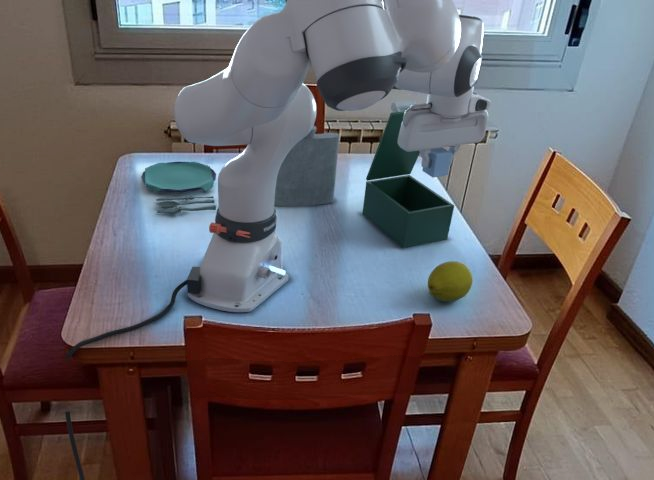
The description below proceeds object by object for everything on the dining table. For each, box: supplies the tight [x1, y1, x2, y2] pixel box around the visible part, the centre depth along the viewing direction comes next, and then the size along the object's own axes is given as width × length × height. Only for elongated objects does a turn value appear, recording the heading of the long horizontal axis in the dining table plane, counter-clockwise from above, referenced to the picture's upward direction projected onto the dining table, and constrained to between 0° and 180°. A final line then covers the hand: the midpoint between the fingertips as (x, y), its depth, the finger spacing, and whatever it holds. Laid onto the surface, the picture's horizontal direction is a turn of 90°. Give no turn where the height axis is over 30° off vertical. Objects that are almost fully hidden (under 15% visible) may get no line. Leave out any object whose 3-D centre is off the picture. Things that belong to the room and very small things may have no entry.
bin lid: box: [365, 100, 420, 181], centre depth 146 cm, size 19×13×6 cm
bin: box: [362, 174, 455, 249], centre depth 149 cm, size 19×13×9 cm
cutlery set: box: [140, 161, 217, 214], centre depth 162 cm, size 20×30×2 cm, turn 11°
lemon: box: [427, 260, 473, 303], centre depth 123 cm, size 11×8×8 cm
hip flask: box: [274, 125, 340, 207], centre depth 154 cm, size 16×4×20 cm, turn 103°
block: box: [422, 147, 452, 178], centre depth 133 cm, size 4×4×5 cm
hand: (436, 165), depth 134 cm, fingers closed on block, 4 cm apart
